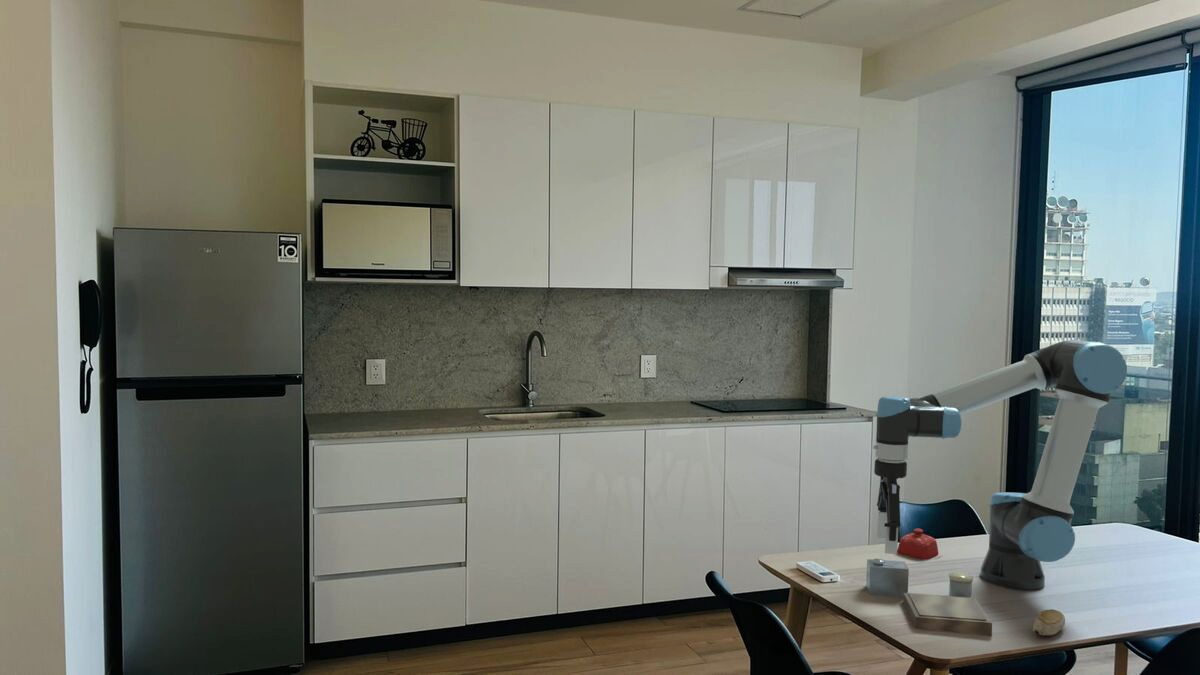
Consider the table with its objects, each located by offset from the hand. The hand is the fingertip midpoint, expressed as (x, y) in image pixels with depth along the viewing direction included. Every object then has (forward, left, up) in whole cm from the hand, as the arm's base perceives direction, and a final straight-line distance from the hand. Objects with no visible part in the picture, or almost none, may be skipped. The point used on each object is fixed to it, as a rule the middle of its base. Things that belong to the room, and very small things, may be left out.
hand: (886, 545), depth 217 cm
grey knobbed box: (0, 0, -13) cm, 13 cm away
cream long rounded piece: (-31, +12, -10) cm, 35 cm away
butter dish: (-14, -35, -13) cm, 39 cm away
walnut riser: (-11, +14, -13) cm, 22 cm away
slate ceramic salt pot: (-17, +1, -13) cm, 21 cm away
